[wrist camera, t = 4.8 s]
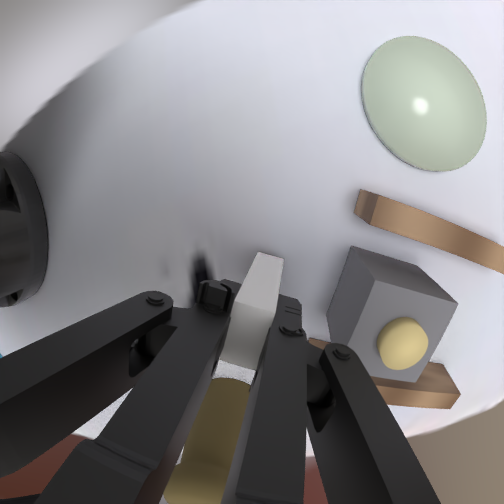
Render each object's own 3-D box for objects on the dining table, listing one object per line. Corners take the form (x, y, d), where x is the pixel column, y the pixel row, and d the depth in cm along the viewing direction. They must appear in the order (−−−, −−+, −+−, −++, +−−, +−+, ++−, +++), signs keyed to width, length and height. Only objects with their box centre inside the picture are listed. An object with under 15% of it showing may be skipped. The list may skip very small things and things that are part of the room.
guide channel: (303, 354, 20) (303, 390, 16) (360, 189, 17) (378, 194, 13) (434, 378, 19) (450, 409, 16) (497, 244, 16) (529, 259, 12)
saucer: (347, 142, 16) (350, 140, 15) (372, 22, 13) (375, 16, 12) (466, 190, 15) (474, 192, 14) (483, 77, 13) (490, 74, 12)
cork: (186, 377, 22) (133, 482, 12) (259, 375, 21) (232, 499, 11) (206, 425, 24) (171, 521, 13) (271, 425, 23) (254, 532, 12)
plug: (326, 314, 19) (337, 381, 13) (351, 245, 18) (381, 289, 11) (389, 330, 19) (420, 394, 12) (417, 265, 17) (467, 312, 11)
